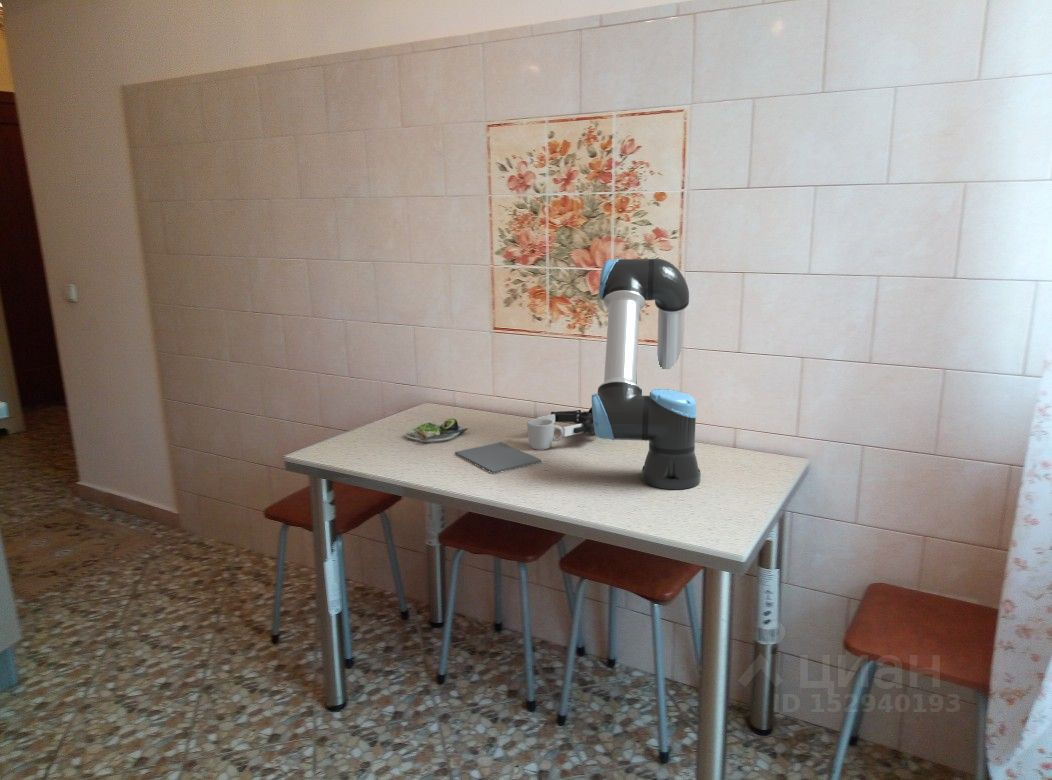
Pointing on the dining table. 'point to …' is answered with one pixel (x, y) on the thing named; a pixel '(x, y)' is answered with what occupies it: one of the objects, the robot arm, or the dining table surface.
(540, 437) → the cup
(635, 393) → the robot arm
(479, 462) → the mat
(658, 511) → the dining table surface
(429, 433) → the avocado toast plate
